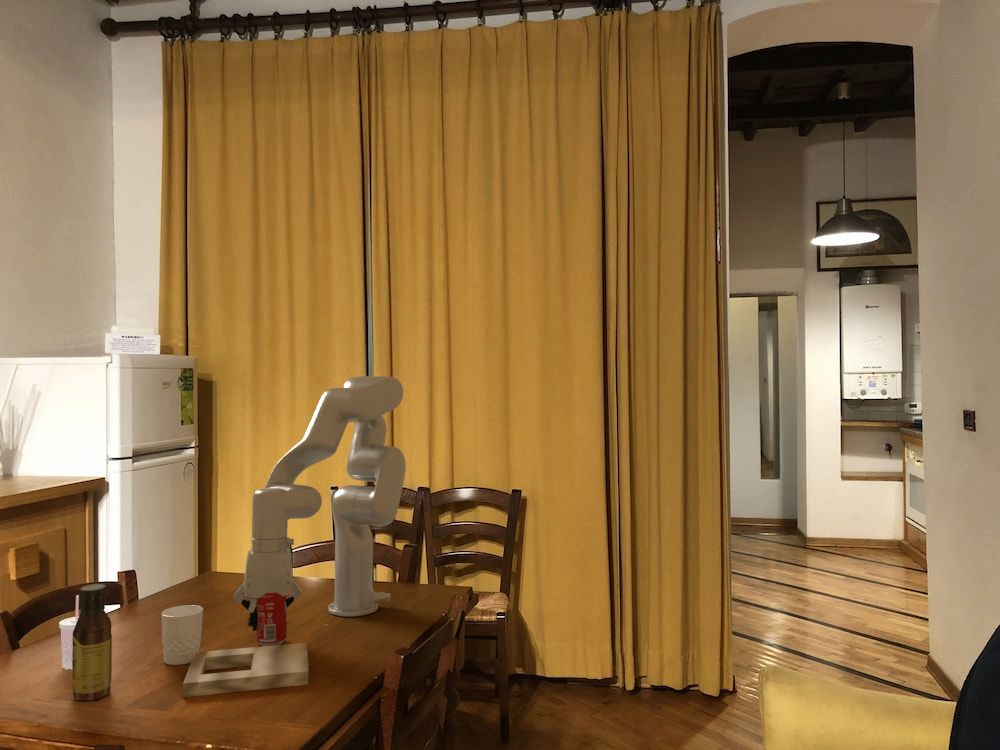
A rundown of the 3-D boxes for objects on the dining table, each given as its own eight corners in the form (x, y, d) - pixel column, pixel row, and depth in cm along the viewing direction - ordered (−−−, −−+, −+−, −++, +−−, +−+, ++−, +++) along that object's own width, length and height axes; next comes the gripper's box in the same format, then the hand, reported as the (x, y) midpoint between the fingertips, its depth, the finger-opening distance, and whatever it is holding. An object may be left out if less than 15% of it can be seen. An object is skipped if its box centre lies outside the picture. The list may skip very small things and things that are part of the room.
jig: (306, 654, 150) (306, 642, 150) (308, 684, 134) (308, 671, 134) (194, 664, 143) (194, 652, 144) (182, 697, 128) (182, 683, 128)
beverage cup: (96, 665, 143) (98, 595, 143) (62, 673, 138) (63, 601, 139) (88, 657, 147) (90, 589, 147) (54, 664, 143) (56, 595, 143)
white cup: (210, 655, 149) (211, 607, 149) (182, 668, 141) (183, 618, 142) (180, 650, 151) (181, 603, 152) (151, 663, 144) (152, 614, 144)
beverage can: (291, 638, 159) (290, 584, 159) (279, 648, 153) (279, 592, 153) (264, 637, 159) (263, 584, 160) (251, 648, 153) (251, 592, 153)
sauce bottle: (82, 689, 131) (85, 581, 132) (117, 688, 132) (119, 581, 132) (63, 704, 125) (66, 591, 125) (100, 703, 125) (103, 590, 126)
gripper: (308, 540, 162) (307, 620, 162) (230, 543, 158) (228, 626, 157) (309, 546, 155) (307, 630, 155) (227, 550, 150) (224, 636, 150)
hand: (267, 627), depth 156 cm, fingers closed on beverage can, 4 cm apart
